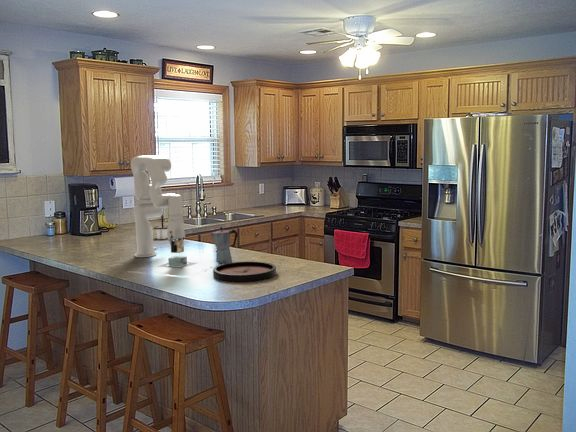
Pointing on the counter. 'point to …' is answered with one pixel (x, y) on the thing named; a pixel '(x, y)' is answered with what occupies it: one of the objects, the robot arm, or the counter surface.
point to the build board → (177, 266)
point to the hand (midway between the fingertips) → (177, 250)
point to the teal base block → (177, 260)
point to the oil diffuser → (161, 231)
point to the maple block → (179, 246)
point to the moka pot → (223, 245)
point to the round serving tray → (244, 272)
